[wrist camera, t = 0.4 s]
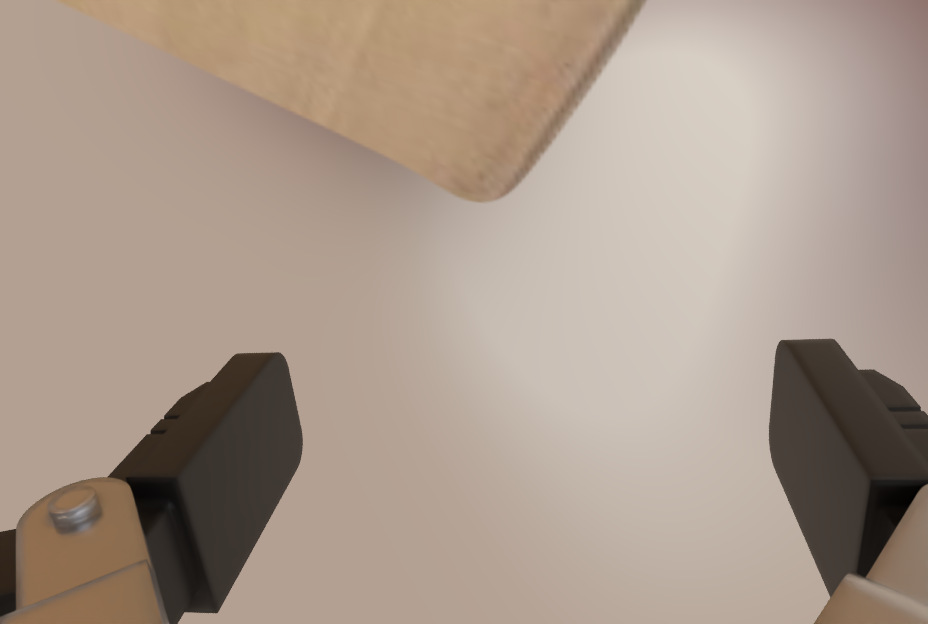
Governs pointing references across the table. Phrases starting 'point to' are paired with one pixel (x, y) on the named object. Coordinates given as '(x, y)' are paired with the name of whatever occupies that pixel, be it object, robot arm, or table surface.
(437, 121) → the table surface
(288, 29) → the table surface
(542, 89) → the table surface
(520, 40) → the table surface
